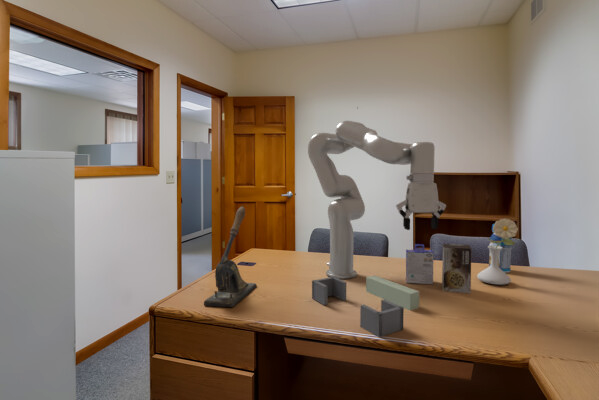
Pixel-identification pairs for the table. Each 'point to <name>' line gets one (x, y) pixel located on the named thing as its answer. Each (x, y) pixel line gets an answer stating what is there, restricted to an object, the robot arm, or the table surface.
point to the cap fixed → (382, 318)
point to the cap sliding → (328, 289)
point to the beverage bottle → (501, 253)
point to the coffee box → (456, 268)
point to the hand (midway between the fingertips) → (420, 229)
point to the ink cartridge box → (419, 265)
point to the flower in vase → (493, 271)
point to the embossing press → (230, 274)
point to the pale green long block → (393, 292)
